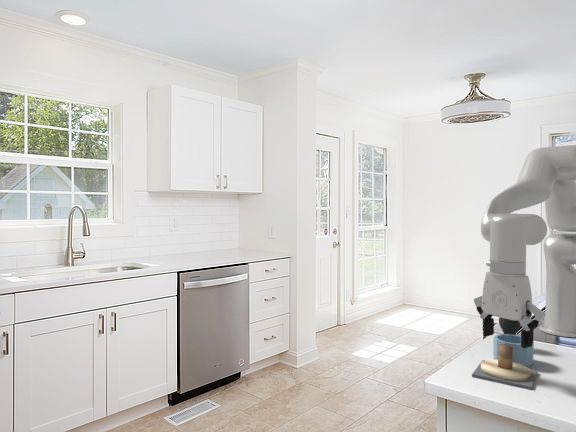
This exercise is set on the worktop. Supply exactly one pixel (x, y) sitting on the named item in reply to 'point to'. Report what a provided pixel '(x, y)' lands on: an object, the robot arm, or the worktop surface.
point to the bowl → (514, 349)
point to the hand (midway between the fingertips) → (506, 340)
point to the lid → (505, 366)
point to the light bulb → (509, 326)
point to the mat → (523, 384)
